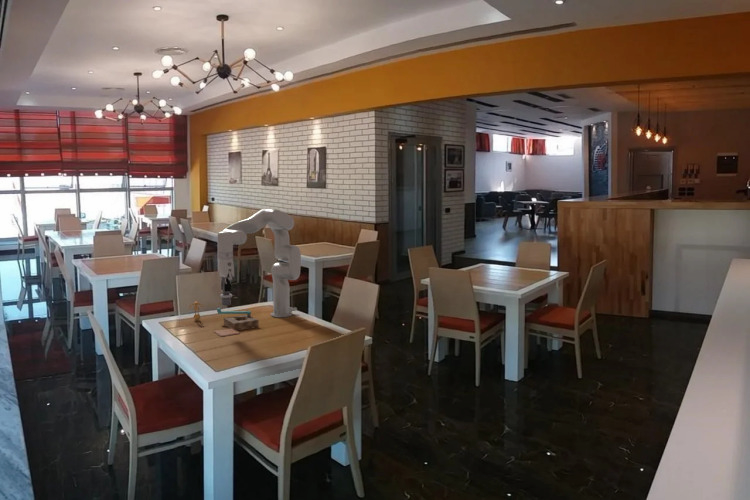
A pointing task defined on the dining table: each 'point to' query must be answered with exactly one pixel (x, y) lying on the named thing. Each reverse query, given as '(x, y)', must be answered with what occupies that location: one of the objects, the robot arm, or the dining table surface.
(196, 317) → the figurine
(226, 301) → the plug
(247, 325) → the socket block
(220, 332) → the tile
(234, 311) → the clip
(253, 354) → the dining table surface
